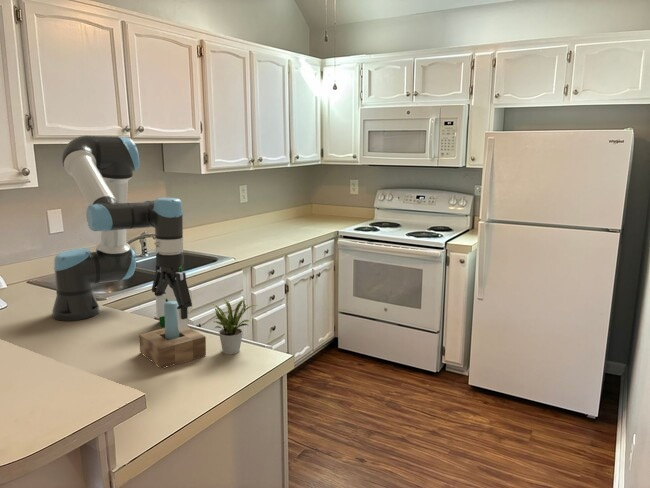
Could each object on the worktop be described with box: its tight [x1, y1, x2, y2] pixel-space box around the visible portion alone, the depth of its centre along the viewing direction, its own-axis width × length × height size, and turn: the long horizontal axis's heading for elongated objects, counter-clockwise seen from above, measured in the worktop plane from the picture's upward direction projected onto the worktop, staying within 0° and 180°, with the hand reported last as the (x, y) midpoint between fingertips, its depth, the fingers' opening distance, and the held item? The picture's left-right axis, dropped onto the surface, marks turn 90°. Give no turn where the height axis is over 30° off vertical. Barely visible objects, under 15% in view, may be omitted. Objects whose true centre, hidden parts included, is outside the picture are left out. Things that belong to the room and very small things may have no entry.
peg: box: [164, 301, 179, 340], centre depth 145 cm, size 4×4×16 cm
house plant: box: [212, 298, 258, 355], centre depth 149 cm, size 14×14×16 cm
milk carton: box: [158, 266, 183, 328], centre depth 170 cm, size 9×9×20 cm
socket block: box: [138, 326, 207, 369], centre depth 146 cm, size 14×14×6 cm
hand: (171, 322), depth 144 cm, fingers open, 13 cm apart
